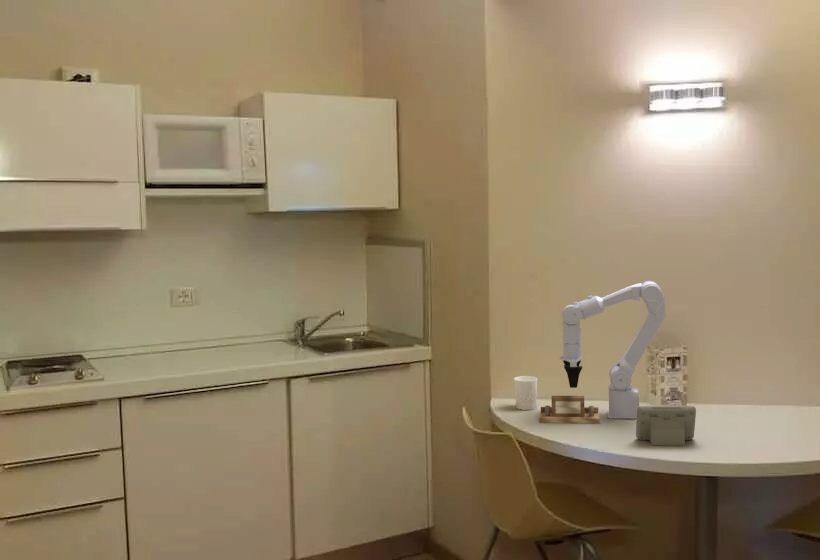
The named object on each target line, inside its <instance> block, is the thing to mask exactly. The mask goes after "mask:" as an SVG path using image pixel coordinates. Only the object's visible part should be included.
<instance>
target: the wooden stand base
mask: <svg viewBox="0 0 820 560" xmlns="http://www.w3.org/2000/svg"><path fill="white" fill-rule="evenodd" d="M584 413H585V417H552V406H550V405H544V406H540V415H539V416H540V418H539V419H540V420H539V421H540V422H541V423H543V424H545V423H547V424H549V423H551V424H552V423H554V424H555V423H556V424H557V423H559V424H562V423H563V424H600V415H599V407H597V406H596V407H595V406H594V405H589V406H584Z"/></svg>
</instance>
